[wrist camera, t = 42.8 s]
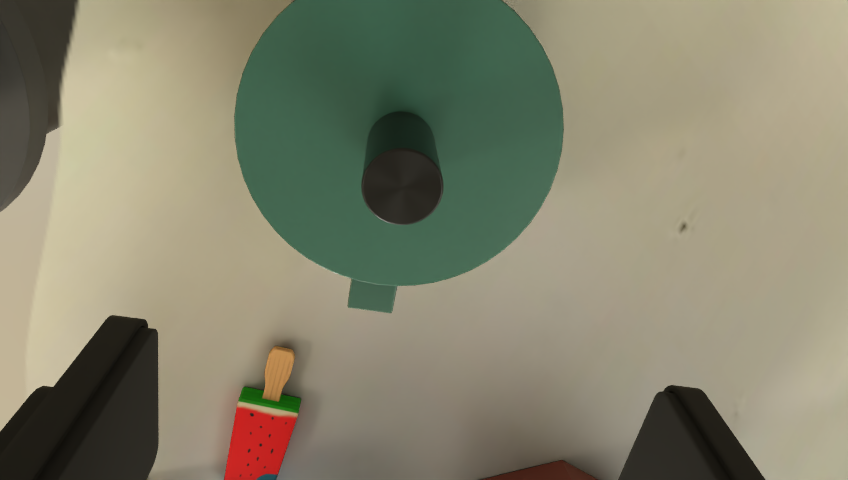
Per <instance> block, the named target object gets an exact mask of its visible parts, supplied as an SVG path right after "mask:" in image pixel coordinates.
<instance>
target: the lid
mask: <svg viewBox="0 0 848 480" xmlns="http://www.w3.org/2000/svg"><path fill="white" fill-rule="evenodd" d="M234 122H235V142H236V149H237V155H238V160H239V164H240V167H241V171H242V174H243V177H244V180H245V182H246V185H247V187H248V189H249V191H250V194H251V196H252V198H253V200H254V201H255V203H256V205H257V206H258V208H259V210H260V211H261V213H262V214H263V216H264V217H265V218H266V220H267V221H268V222H269V223H270V225H271V226H272V227H273V228H274V230H275V231H276V232H277V233H278V234H279V235H280V236H281V237H282V238H283V239H284V240H285V241H286V242H287V243H288V244H289V245H290V246H292V247H293V248H294V249H296V250H297V251H298V252H299V253H301V254H302V255H303V256H305V257H306V258H308V259H310V260H311V261H313V262H315V263H316V264H318V265H320V266H321V267H323V268H325V269H328V270H330V271H332V272H334V273H336V274H339V275H342V276H345V277H348V278H351V279H354V280H357V281H362V282H367V283H372V284H378V285H390V286H409V285H420V284H427V283H434V282H438V281H441V280H445V279H449V278H452V277H455V276H458V275H460V274H463V273H465V272H468V271H470V270H472V269H474V268H476V267H478V266H479V265H481V264H483V263H485V262H487V261H488V260H490V259H491V258H493V257H494V256H496V255H497V254H498V253H500V252H501V251H503V250H504V249H505V248H506V247H507V246H508V245H509V244H511V243H512V242H513V241H514V240H515V239H516V238H517V237H518V236H519V235H520V234H521V233H522V232H523V230H524V229H525V228H526V227H527V226H528V225H529V224H530V222H531V221H532V219H533V218H534V217H535V215H536V214H537V212H538V211H539V209H540V208H541V206H542V204H543V202H544V200H545V199H546V197H547V195H548V193H549V191H550V189H551V186H552V183H553V181H554V178H555V175H556V172H557V169H558V165H559V160H560V156H561V151H562V142H563V131H564V126H563V107H562V102H561V96H560V90H559V86H558V83H557V80H556V77H555V74H554V71H553V68H552V65H551V63H550V61H549V59H548V57H547V55H546V53H545V51H544V49H543V47H542V45H541V44H540V42H539V41H538V39H537V38H536V36H535V35H534V33H533V32H532V30H531V29H530V28H529V26H528V25H527V24H526V23H525V22H524V21H523V20H522V19H521V18H520V16H519V15H518V14H517V13H516V12H515V11H514V10H513V9H512V8H510V7H509V6H508V5H507V4H506V3H504V2H503V1H502V0H294V1H293V2H292V3H291V4H290V5H289V6H288V7H286V8H285V9H284V10H283V11H282V12H281V13H280V14H279V15H278V16H277V17H276V18H275V19H274V21H273V22H272V23H271V24H270V26H269V27H268V28H267V29H266V30H265V32H264V33H263V34H262V36H261V38H260V39H259V41H258V43H257V44H256V46H255V48H254V49H253V51H252V53H251V55H250V57H249V60H248V62H247V64H246V67H245V69H244V71H243V74H242V78H241V81H240V85H239V89H238V93H237V99H236V107H235V115H234Z"/></svg>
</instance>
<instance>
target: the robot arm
mask: <svg viewBox="0 0 848 480" xmlns="http://www.w3.org/2000/svg"><path fill="white" fill-rule="evenodd" d="M157 450H158V332H157V330H156V329H151V328H148V324H147V321H146V320H145V319H138V318H130V317H122V316H114V315H112V316H109V317H108V318H107V319H106V320H105V322H104V323H103V324H102V325H101V327H100V328H99V329H98V331H97V332H96V333H95V334H94V336H93V337H92V338H91V340H90V341H89V342H88V343H87V345H86V346H85V347H84V348H83V350H82V351H81V352H80V354H79V355H78V356H77V357H76V359H75V360H74V361H73V363H72V364H71V365H70V366H69V368H68V369H67V370H66V372H65V373H64V374H63V375H62V377H61V378H60V379H59V380H58V382H57V383H56V384H55V386H54V387H48V386H42V387H40V388H38V389H36V390H35V391H34V392H33V393H32V394H31V395H30V396H29V397H28V399H27V400H26V401H25V402H24V403H23V405H22V406H21V407H20V409H19V410H18V411H17V412H16V413H15V414H14V416H13V417H12V418H11V420H10V421H9V422H8V423H7V424H6V426H5V427H4V428H3V429H2V430H1V431H0V480H146V479H147V477H148V475H149V473H150V471H151V469H152V467H153V464H154V462H155V458H156V455H157ZM618 480H765V478H764V477H763V476H762V474H761V473H760V471H759V470H758V468H757V467H756V466H755V464H754V463H753V461H752V460H751V458H750V457H749V456H748V454H747V453H746V451H745V450H744V449H743V447H742V446H741V444H740V443H739V441H738V440H737V439H736V437H735V436H734V434H733V433H732V431H731V430H730V429H729V427H728V426H727V424H726V423H725V421H724V420H723V419H722V417H721V416H720V414H719V413H718V411H717V410H716V409H715V407H714V406H713V404H712V403H711V401H710V400H709V399H708V397H707V396H706V394H705V393H704V392H703V391H702V390H700V389H698V388H690V387H682V386H674V385H671V386H668V387H666V388H665V390H664V391H663V392H658V393H657V394H656V396H655V397H654V400H653V402H652V404H651V406H650V409H649V411H648V413H647V415H646V418H645V420H644V422H643V425H642V427H641V429H640V431H639V434H638V436H637V438H636V440H635V443H634V445H633V447H632V449H631V452H630V454H629V456H628V459H627V461H626V463H625V465H624V468H623V470H622V472H621V474H620V477H619V479H618Z"/></svg>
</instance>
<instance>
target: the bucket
mask: <svg viewBox="0 0 848 480" xmlns="http://www.w3.org/2000/svg"><path fill="white" fill-rule="evenodd" d="M481 480H598V479H596V478H594V477H592V476H591V475H589V474H587V473H585V472H583V471H581V470H579V469H577V468H576V467H574V466H572V465H570V464H568V463H566V462H564V461H563V460H560V461H556V462H552V463H548V464H544V465H539V466H535V467H531V468H527V469H523V470H519V471H515V472H510V473H506V474H502V475H498V476H494V477H490V478H486V479H481Z"/></svg>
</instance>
